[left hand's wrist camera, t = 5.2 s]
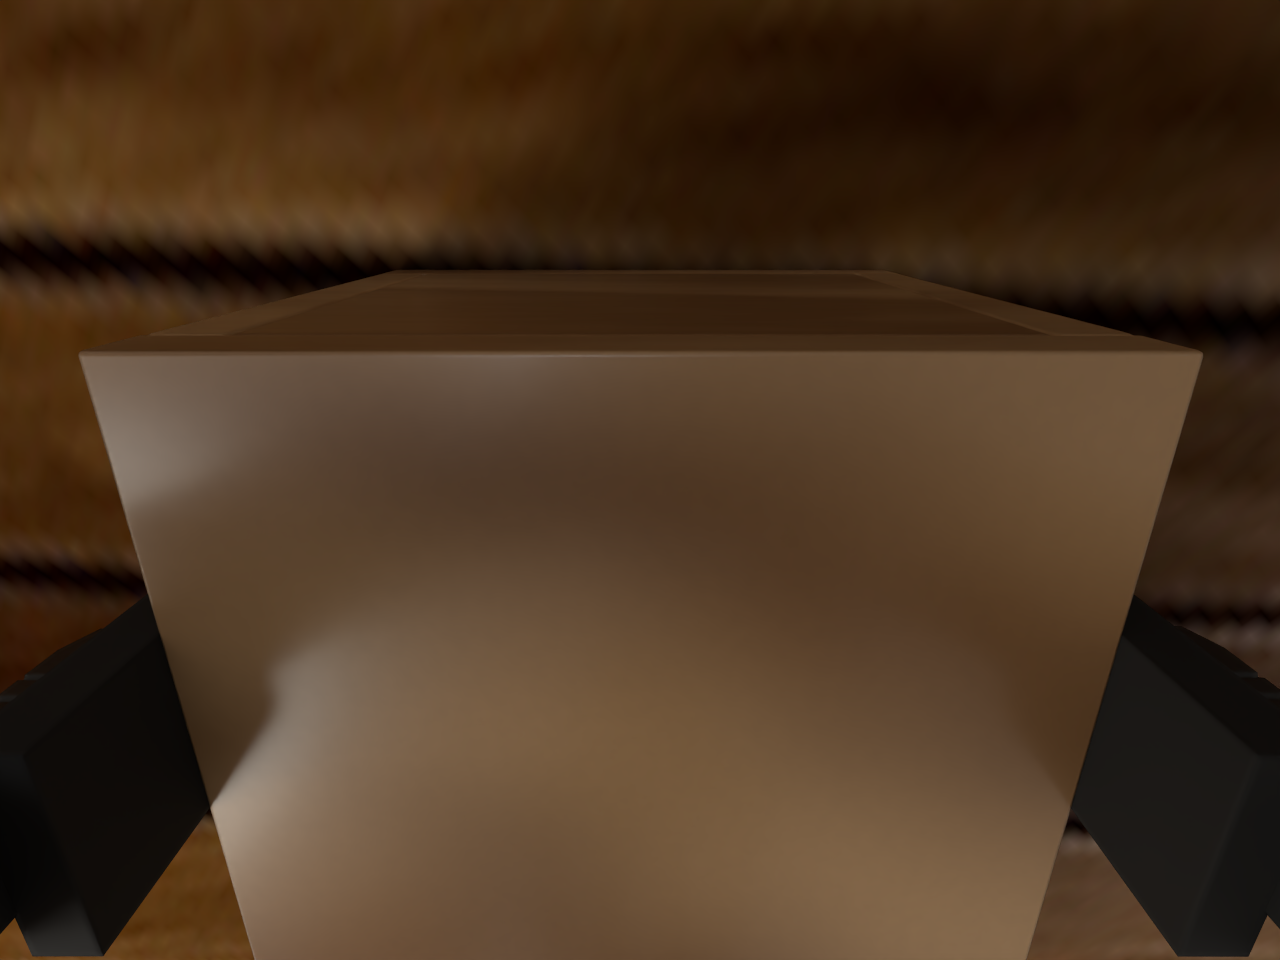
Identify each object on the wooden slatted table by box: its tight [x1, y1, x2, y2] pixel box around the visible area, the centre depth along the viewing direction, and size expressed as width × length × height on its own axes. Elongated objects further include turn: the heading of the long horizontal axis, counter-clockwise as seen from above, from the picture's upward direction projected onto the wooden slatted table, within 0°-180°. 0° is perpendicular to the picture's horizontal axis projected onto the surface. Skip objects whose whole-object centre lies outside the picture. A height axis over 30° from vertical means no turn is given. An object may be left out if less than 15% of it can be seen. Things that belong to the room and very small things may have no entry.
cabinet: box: [79, 270, 1203, 960], centre depth 15 cm, size 21×12×10 cm, turn 0°
